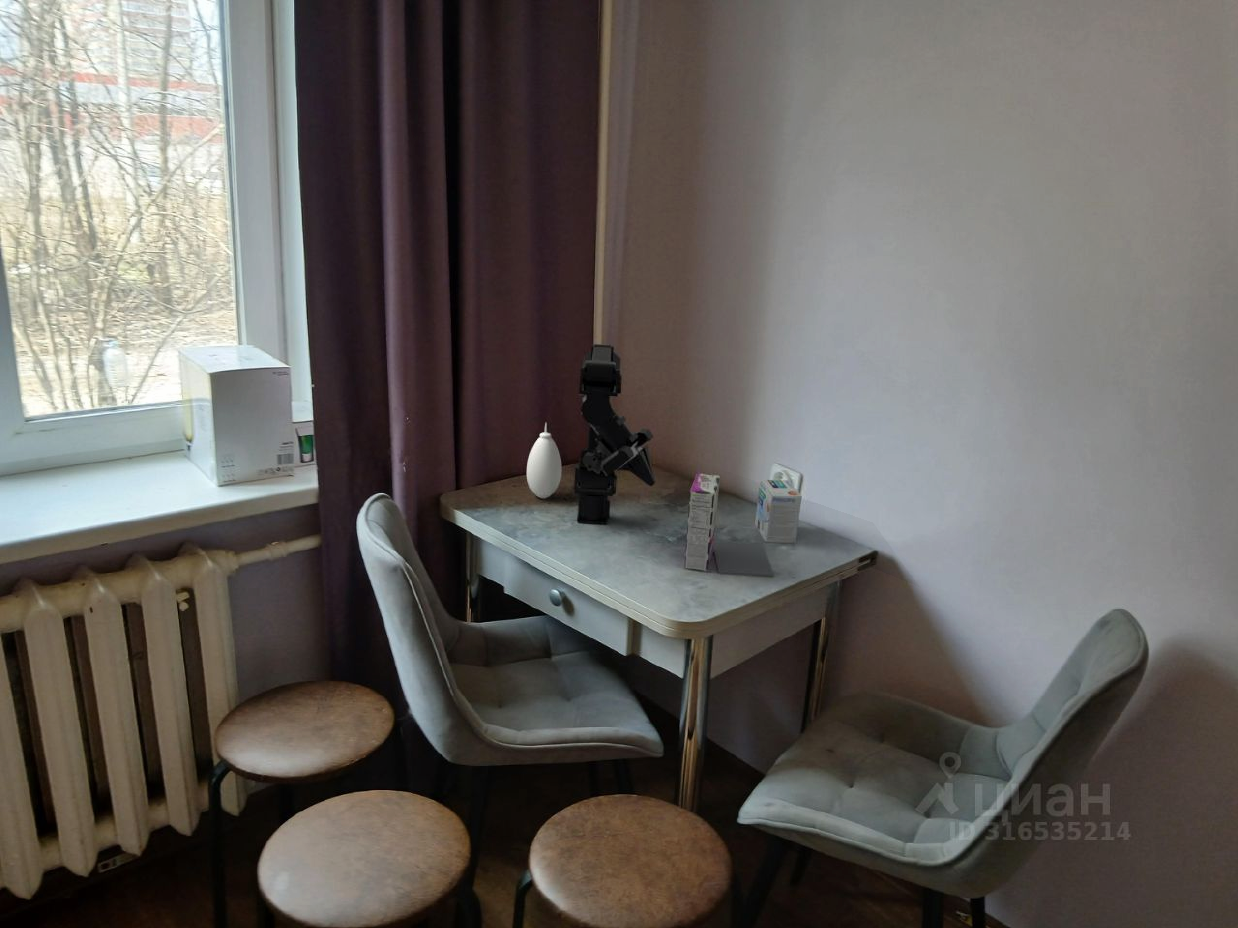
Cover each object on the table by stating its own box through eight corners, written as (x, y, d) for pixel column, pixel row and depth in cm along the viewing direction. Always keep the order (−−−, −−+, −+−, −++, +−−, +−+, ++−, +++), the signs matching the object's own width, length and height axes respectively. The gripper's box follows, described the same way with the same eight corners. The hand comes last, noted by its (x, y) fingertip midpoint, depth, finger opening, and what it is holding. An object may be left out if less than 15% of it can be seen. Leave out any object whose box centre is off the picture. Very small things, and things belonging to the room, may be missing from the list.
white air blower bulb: (566, 496, 203) (570, 422, 198) (546, 505, 197) (549, 428, 192) (540, 489, 207) (542, 416, 202) (519, 497, 201) (521, 422, 196)
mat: (718, 573, 167) (718, 571, 167) (711, 541, 182) (711, 539, 182) (772, 576, 167) (773, 575, 167) (761, 544, 182) (761, 543, 182)
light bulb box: (754, 524, 194) (759, 478, 191) (783, 525, 195) (789, 479, 191) (765, 543, 184) (771, 495, 181) (796, 543, 184) (803, 496, 181)
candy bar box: (689, 547, 179) (696, 472, 174) (713, 551, 178) (721, 475, 173) (682, 569, 168) (689, 489, 163) (707, 572, 167) (715, 492, 162)
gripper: (591, 433, 185) (635, 491, 186) (560, 456, 168) (609, 520, 169) (630, 404, 181) (675, 463, 181) (603, 424, 164) (652, 490, 164)
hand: (653, 484), depth 174 cm, fingers closed
